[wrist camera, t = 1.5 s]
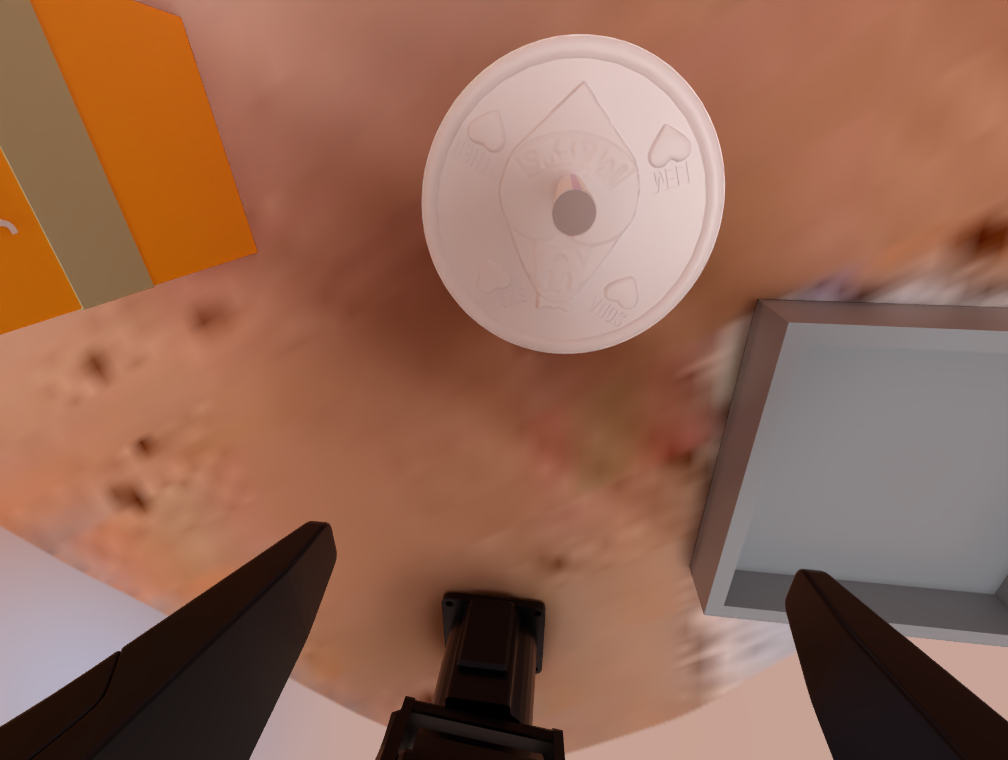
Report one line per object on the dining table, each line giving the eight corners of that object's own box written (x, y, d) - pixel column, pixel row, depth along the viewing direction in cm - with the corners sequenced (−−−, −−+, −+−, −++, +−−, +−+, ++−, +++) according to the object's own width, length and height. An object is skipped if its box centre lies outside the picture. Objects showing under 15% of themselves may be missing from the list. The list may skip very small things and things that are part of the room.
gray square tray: (994, 597, 24) (1046, 651, 22) (689, 567, 26) (703, 614, 23) (1188, 314, 18) (1299, 343, 15) (757, 298, 19) (788, 322, 17)
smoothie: (667, 100, 17) (977, -63, 4) (631, 276, 19) (748, 496, 7) (492, 85, 17) (290, -102, 5) (481, 260, 20) (340, 438, 7)
